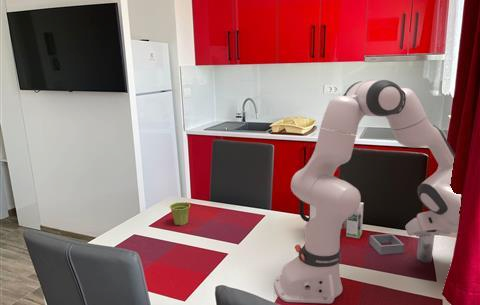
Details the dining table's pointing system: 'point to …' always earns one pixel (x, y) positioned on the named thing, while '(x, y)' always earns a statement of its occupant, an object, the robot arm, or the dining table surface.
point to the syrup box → (355, 223)
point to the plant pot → (180, 212)
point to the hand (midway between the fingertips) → (425, 233)
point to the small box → (344, 224)
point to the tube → (425, 248)
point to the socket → (386, 249)
